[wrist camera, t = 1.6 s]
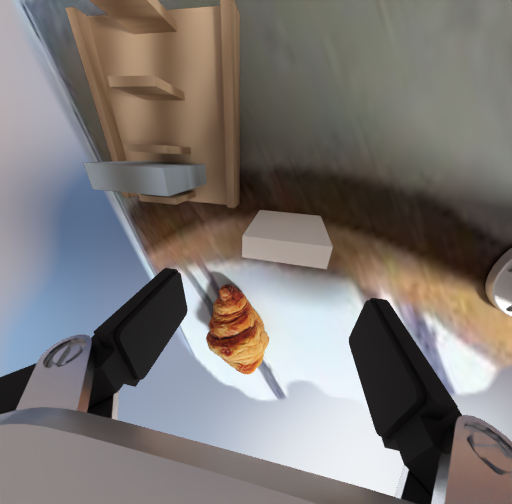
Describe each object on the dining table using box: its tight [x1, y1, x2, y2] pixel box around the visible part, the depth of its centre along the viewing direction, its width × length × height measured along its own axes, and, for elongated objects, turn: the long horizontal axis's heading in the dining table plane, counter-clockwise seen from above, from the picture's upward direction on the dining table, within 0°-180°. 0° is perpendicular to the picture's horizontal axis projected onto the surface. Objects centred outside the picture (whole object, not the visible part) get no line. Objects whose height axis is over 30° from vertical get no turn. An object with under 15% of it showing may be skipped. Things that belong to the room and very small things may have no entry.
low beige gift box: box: [242, 210, 333, 269], centre depth 18 cm, size 7×2×8 cm, turn 88°
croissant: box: [206, 284, 269, 374], centre depth 29 cm, size 21×10×8 cm, turn 8°
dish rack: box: [66, 0, 240, 208], centre depth 15 cm, size 14×15×8 cm
